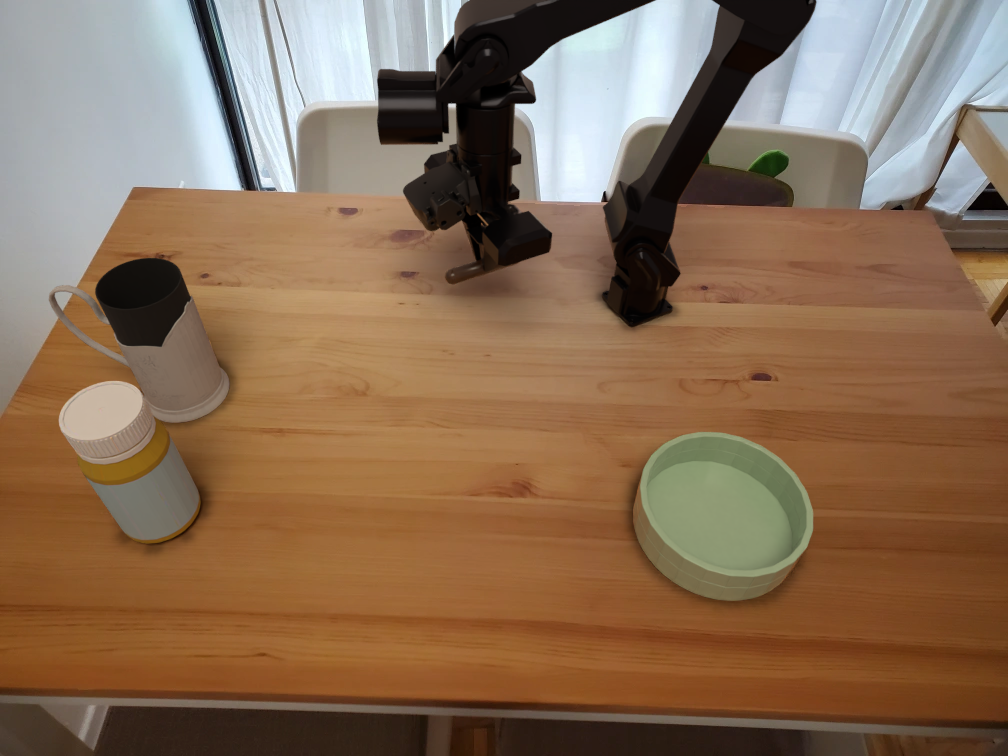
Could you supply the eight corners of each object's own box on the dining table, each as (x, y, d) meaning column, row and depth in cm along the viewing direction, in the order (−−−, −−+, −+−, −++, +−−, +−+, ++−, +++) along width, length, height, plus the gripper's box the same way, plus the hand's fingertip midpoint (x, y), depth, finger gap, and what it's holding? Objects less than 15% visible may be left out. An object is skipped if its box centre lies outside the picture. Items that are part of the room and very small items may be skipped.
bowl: (722, 438, 75) (734, 410, 71) (832, 555, 66) (850, 529, 63) (601, 496, 70) (607, 468, 66) (702, 631, 61) (715, 607, 57)
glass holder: (212, 426, 74) (165, 318, 63) (78, 414, 75) (9, 306, 64) (240, 365, 80) (202, 256, 69) (116, 355, 81) (59, 246, 70)
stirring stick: (516, 256, 86) (517, 244, 85) (524, 265, 85) (525, 252, 84) (442, 280, 83) (441, 267, 81) (449, 289, 82) (448, 277, 80)
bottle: (134, 484, 69) (69, 378, 58) (209, 480, 70) (158, 374, 59) (113, 549, 64) (38, 447, 53) (194, 544, 65) (136, 442, 54)
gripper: (374, 116, 74) (387, 240, 86) (453, 209, 63) (456, 337, 75) (470, 95, 78) (471, 216, 90) (560, 179, 67) (548, 305, 79)
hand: (484, 265), depth 83 cm, fingers closed on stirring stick, 2 cm apart
